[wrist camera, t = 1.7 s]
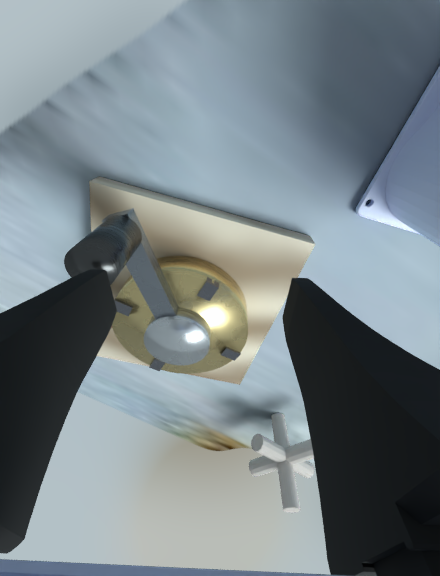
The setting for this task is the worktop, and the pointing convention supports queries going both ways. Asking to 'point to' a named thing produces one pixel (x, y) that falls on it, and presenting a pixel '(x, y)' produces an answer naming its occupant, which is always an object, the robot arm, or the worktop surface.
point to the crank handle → (165, 299)
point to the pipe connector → (283, 461)
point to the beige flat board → (209, 257)
